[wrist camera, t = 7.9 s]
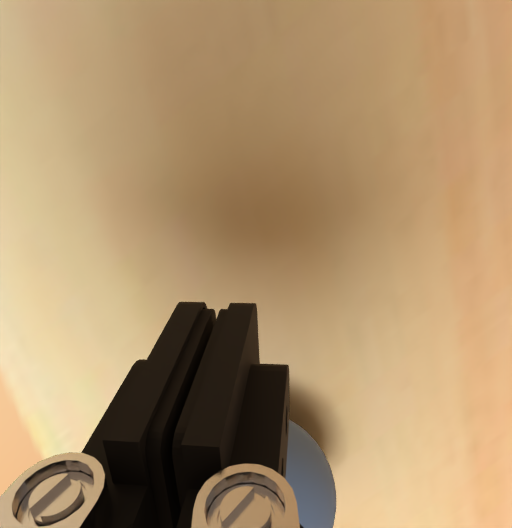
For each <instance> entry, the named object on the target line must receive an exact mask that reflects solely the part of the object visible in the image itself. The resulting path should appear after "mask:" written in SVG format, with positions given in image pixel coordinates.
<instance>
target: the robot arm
mask: <svg viewBox="0 0 512 528" xmlns="http://www.w3.org/2000/svg"><path fill="white" fill-rule="evenodd" d="M288 433H289V366H288V365H277V364H260V361H259V341H258V321H257V307H256V304H255V303H230V305H229V307H228V309H221V310H220V311H219V314H218V317H217V319H216V315H215V310H214V309H207V306H206V304H205V302H179V303H178V304H177V306H176V308H175V310H174V312H173V313H172V315H171V317H170V319H169V321H168V322H167V324H166V326H165V328H164V330H163V331H162V333H161V335H160V337H159V339H158V340H157V342H156V344H155V346H154V348H153V349H152V351H151V353H150V355H149V357H148V358H147V360H138V361H136V362H135V364H134V365H133V366H132V368H131V370H130V371H129V373H128V375H127V376H126V378H125V380H124V381H123V383H122V385H121V386H120V388H119V390H118V392H117V393H116V395H115V397H114V398H113V400H112V402H111V403H110V405H109V407H108V409H107V410H106V412H105V414H104V415H103V417H102V419H101V420H100V422H99V424H98V426H97V427H96V429H95V431H94V432H93V434H92V436H91V437H90V439H89V441H88V442H87V444H86V446H85V448H84V449H83V451H82V453H73V452H69V453H64V454H59V455H54V456H52V457H49V458H47V459H44V460H42V461H40V462H38V463H37V464H35V465H34V466H32V467H30V468H29V469H27V470H26V471H25V472H24V473H22V474H21V475H20V476H19V477H18V478H17V479H16V480H15V481H14V482H13V483H12V484H11V485H10V486H9V487H8V489H7V490H6V491H5V492H4V493H3V494H2V495H1V497H0V528H304V527H303V526H302V525H301V524H300V523H299V516H298V509H297V502H296V499H295V495H294V492H293V489H292V487H291V486H290V485H289V483H288V482H287V481H286V479H285V477H286V463H287V448H288Z"/></svg>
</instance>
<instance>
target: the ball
mask: <svg viewBox="0 0 512 528" xmlns="http://www.w3.org/2000/svg"><path fill="white" fill-rule="evenodd" d="M285 479H286V481H287V482H288V483H289V485H290V486H291V487H292V489H293V492H294V495H295V499H296V502H297V509H298V516H299V523H300V524H301V525H302V526H303V527H304V528H333V525H334V518H335V512H336V490H335V482H334V479H333V475H332V471H331V468H330V465H329V463H328V461H327V459H326V457H325V455H324V453H323V451H322V450H321V448H320V447H319V445H318V444H317V442H316V441H315V440H314V439H313V438H312V437H311V436H310V435H309V434H308V432H307V431H305V430H304V429H303V428H302V427H300V426H299V425H297V424H296V423H294V422H293V421H291V420H289V433H288V448H287V463H286V477H285Z"/></svg>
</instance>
